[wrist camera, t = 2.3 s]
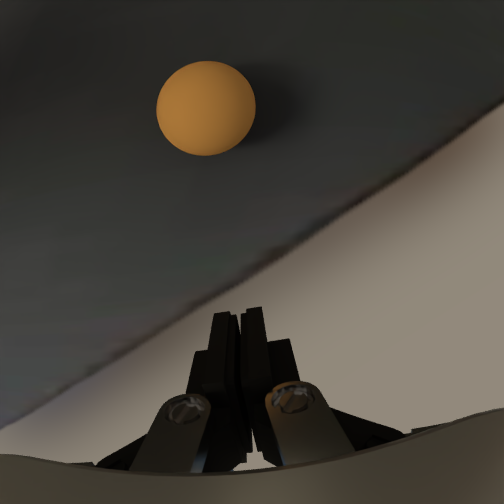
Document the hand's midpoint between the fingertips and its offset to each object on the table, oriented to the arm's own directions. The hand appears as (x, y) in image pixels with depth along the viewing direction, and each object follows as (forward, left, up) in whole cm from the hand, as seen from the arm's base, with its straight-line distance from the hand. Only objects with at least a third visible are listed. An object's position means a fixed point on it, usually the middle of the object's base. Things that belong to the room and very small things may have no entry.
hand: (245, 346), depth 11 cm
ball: (0, +10, -9) cm, 13 cm away
